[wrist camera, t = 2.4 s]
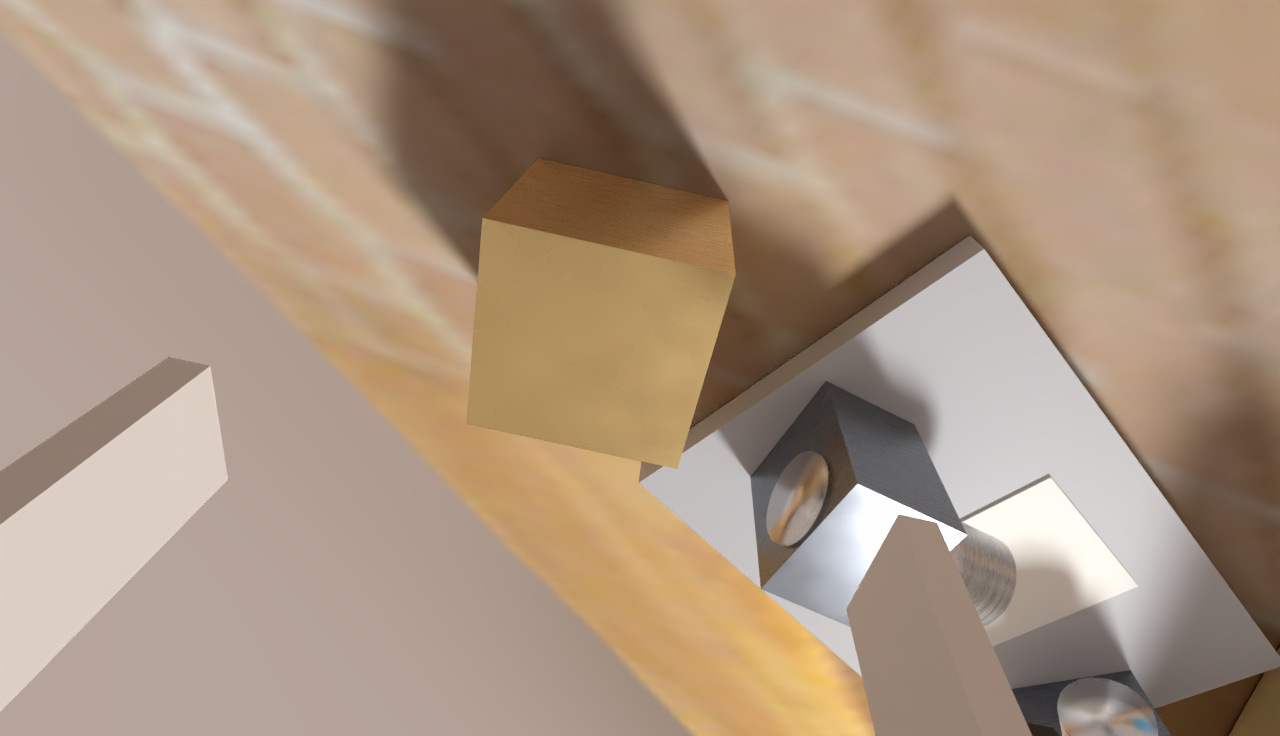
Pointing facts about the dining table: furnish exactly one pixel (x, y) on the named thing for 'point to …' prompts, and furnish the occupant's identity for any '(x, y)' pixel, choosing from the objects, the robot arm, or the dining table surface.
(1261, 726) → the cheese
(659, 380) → the block
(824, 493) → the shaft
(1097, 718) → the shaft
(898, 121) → the dining table surface
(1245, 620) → the grey base plate
